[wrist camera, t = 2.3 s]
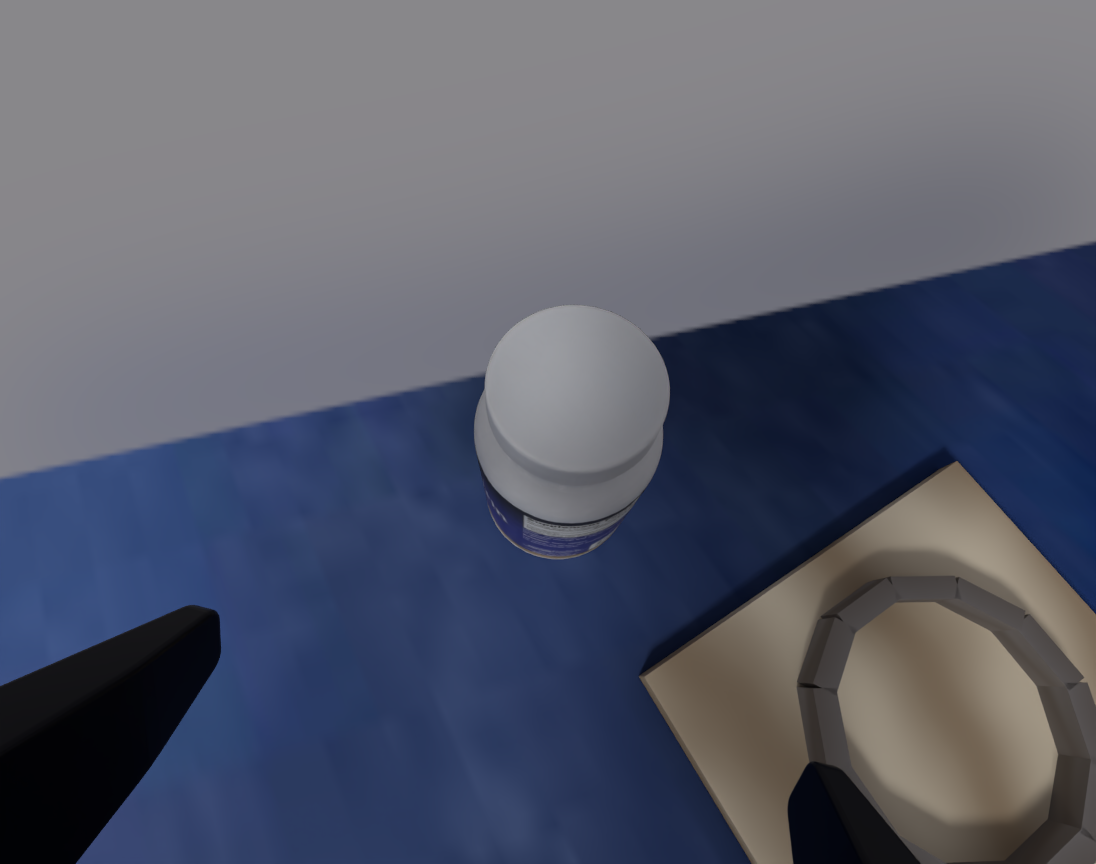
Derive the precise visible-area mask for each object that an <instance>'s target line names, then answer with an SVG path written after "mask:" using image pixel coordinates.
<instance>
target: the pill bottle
mask: <svg viewBox="0 0 1096 864" xmlns="http://www.w3.org/2000/svg"><path fill="white" fill-rule="evenodd" d="M669 400H670V384H669V377H668V373H667V369H666V366H665V364H664V361H663V359H662V357H661V355H660V353H659V351H658V350H657V348H656V347H655V345H654V344H653V342H652V341H651V340H650V339H649V338H648V337H647V336H646V334H644V332H643V331H642V330H641V329H640V328H638V327H637V326H636V325H634V324H633V323H631V322H630V321H628V320H626V319H625V318H623V317H621V316H620V315H617V314H615V313H613V312H611V311H607V310H604V309H601V308H597V307H591V306H585V305H563V306H557V307H551V308H547V309H544V310H541V311H538V312H536V313H533V314H532V315H530V316H528V317H526V318H525V319H523V320H521V321H520V322H519V323H517V324H516V325H514V326H513V327H512V328H511V329H510V330H509V331H508V332H507V333H506V334H505V335H504V336H503V337H502V339H501V340H500V342H499V343H498V344H497V346H496V347H495V349H494V351H493V353H492V355H491V358H490V360H489V363H488V367H487V370H486V376H485V390H484V391H483V393H482V395H481V398H480V400H479V403H478V406H477V410H476V415H475V423H474V440H475V449H476V453H477V458H478V462H479V466H480V471H481V475H482V480H483V484H484V489H485V494H486V499H487V503H488V507H489V510H490V513H491V516H492V518H493V520H494V522H495V524H496V526H497V527H498V529H499V530H500V531H501V533H502V534H503V535H504V536H505V537H506V538H507V539H508V540H509V541H510V542H511V543H513V544H514V545H515V546H517V547H518V548H520V549H522V550H523V551H525V552H527V553H530V554H532V555H535V556H539V557H543V558H548V559H567V558H572V557H577V556H580V555H583V554H585V553H588V552H590V551H592V550H594V549H595V548H597V547H598V546H600V545H601V544H602V543H603V542H605V541H606V540H607V539H608V538H609V537H610V536H611V535H612V534H613V532H614V531H615V530H616V529H617V527H618V526H619V525H620V523H621V522H622V521H623V519H624V518H625V516H626V515H627V514H628V512H629V511H630V509H631V508H632V506H633V505H634V504H635V502H636V501H637V499H638V498H639V497H640V495H641V494H642V493H643V492H644V490H645V488H646V487H647V485H648V484H649V482H650V480H651V479H652V477H653V475H654V473H655V471H656V468H657V466H658V463H659V460H660V456H661V452H662V446H663V423H664V420H665V418H666V415H667V411H668V407H669Z"/></svg>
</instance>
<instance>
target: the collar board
mask: <svg viewBox="0 0 1096 864" xmlns="http://www.w3.org/2000/svg"><path fill="white" fill-rule="evenodd" d="M639 678H640V679H641V681H642V683H643V684H644V686H645V687H646V689H647V691H648V692H649V694H650V696H651V697H652V699H653V701H654V702H655V704H656V706H657V707H658V709H659V711H660V712H661V714H662V716H663V717H664V719H665V721H666V722H667V724H668V726H669V727H670V729H671V731H672V732H673V734H674V736H675V737H676V739H677V741H678V742H679V744H680V745H681V747H682V749H683V750H684V752H685V754H686V755H687V757H688V759H689V760H690V762H691V764H692V765H693V767H694V769H695V770H696V772H697V774H698V775H699V777H700V779H701V780H702V782H703V784H704V785H705V787H706V789H707V790H708V792H709V794H710V795H711V797H712V798H713V800H714V802H715V803H716V805H717V807H718V808H719V810H720V812H721V813H722V815H723V817H724V818H725V820H726V822H727V823H728V825H729V827H730V828H731V830H732V832H733V833H734V835H735V837H736V838H737V840H738V842H739V843H740V845H741V847H742V848H743V850H744V852H745V853H746V855H747V856H748V858H749V860H750V861H751V863H752V864H793V858H792V849H791V841H790V832H789V823H788V813H787V807H788V800H789V797H790V794H791V792H792V790H793V789H794V787H795V785H796V783H797V781H798V779H799V778H800V776H801V774H802V772H803V770H804V769H805V767H806V765H807V764H808V763H810V762H811V761H817V762H821V763H825V764H829V765H833V766H837V767H839V768H840V769H842V770H843V771H844V772H845V773H846V774H847V775H848V776H849V778H850V779H851V780H852V781H853V782H854V784H855V785H856V786H857V787H858V788H859V790H860V791H861V792H862V793H863V794H864V796H865V797H866V798H867V799H868V800H869V802H870V803H871V804H872V805H873V806H874V808H875V809H876V810H877V811H878V812H879V814H880V815H881V816H882V817H883V818H884V820H885V821H886V822H887V823H888V824H889V826H890V827H891V828H892V829H893V830H894V832H895V833H896V834H897V835H898V836H899V838H900V839H901V840H902V841H903V842H904V844H905V845H906V846H907V847H908V848H909V850H910V851H911V852H912V853H913V854H914V856H915V857H916V858H917V859H918V860H919V862H920V863H921V864H1096V614H1095V613H1094V612H1093V611H1092V610H1091V609H1090V608H1089V606H1088V605H1087V604H1086V603H1085V602H1084V601H1083V600H1082V599H1081V598H1080V596H1079V595H1078V594H1077V593H1076V592H1075V591H1074V590H1073V589H1072V588H1071V586H1070V585H1069V584H1068V583H1067V582H1066V581H1065V580H1064V579H1063V578H1062V577H1061V575H1060V574H1059V573H1058V572H1057V571H1056V570H1055V569H1054V568H1053V567H1052V565H1051V564H1050V563H1049V562H1048V561H1047V560H1046V559H1045V558H1044V557H1043V555H1042V554H1041V553H1040V552H1039V551H1038V550H1037V549H1036V548H1035V547H1034V546H1033V544H1032V543H1031V542H1030V541H1029V540H1028V539H1027V538H1026V537H1025V536H1024V534H1023V533H1022V532H1021V531H1020V530H1019V529H1018V528H1017V527H1016V526H1015V525H1014V523H1013V522H1012V521H1011V520H1010V519H1009V518H1008V517H1007V516H1006V515H1005V513H1004V512H1003V511H1002V510H1001V509H1000V508H999V507H998V506H997V505H996V503H995V502H994V501H993V500H992V499H991V498H990V497H989V496H988V495H987V494H986V492H985V491H984V490H983V489H982V488H981V487H980V486H979V485H978V484H977V482H976V481H975V480H974V479H973V478H972V477H971V476H970V475H969V474H968V472H967V471H966V470H965V469H964V468H963V467H962V466H961V465H960V464H959V463H958V461H956V462H954V463H951V464H949V465H947V466H945V467H943V468H941V469H939V470H938V471H936V472H935V473H933V474H932V475H930V476H929V477H927V478H926V479H925V480H923V481H922V482H920V483H919V484H917V485H916V486H914V487H913V488H911V489H910V490H909V491H907V492H906V493H904V494H903V495H901V496H900V497H898V498H897V499H895V500H894V501H893V502H891V503H890V504H888V505H887V506H885V507H884V508H882V509H881V510H879V511H878V512H877V513H875V514H874V515H872V516H871V517H869V518H868V519H866V520H865V521H864V522H862V523H861V524H859V525H858V526H856V527H855V528H853V529H852V530H850V531H849V532H848V533H846V534H845V535H843V536H842V537H840V538H839V539H837V540H836V541H834V542H833V543H832V544H830V545H829V546H827V547H826V548H824V549H823V550H821V551H820V552H818V553H817V554H816V555H814V556H813V557H811V558H810V559H808V560H807V561H805V562H804V563H802V564H801V565H800V566H798V567H797V568H795V569H794V570H792V571H791V572H789V573H788V574H786V575H785V576H784V577H782V578H781V579H779V580H778V581H776V582H775V583H773V584H772V585H770V586H769V587H768V588H766V589H765V590H763V591H762V592H760V593H759V594H757V595H756V596H754V597H753V598H752V599H750V600H749V601H747V602H746V603H744V604H743V605H741V606H740V607H739V608H737V609H736V610H734V611H733V612H731V613H730V614H728V615H727V616H725V617H724V618H723V619H721V620H720V621H718V622H717V623H715V624H714V625H712V626H711V627H709V628H708V629H707V630H705V631H704V632H702V633H701V634H699V635H698V636H696V637H695V638H693V639H692V640H691V641H689V642H688V643H686V644H685V645H683V646H682V647H680V648H679V649H677V650H676V651H675V652H673V653H672V654H670V655H669V656H667V657H666V658H664V659H663V660H661V661H660V662H659V663H657V664H656V665H654V666H653V667H651V668H650V669H648V670H647V671H645V672H644V673H643V674H641V675H640V676H639Z"/></svg>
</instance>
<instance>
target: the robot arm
mask: <svg viewBox="0 0 1096 864" xmlns="http://www.w3.org/2000/svg"><path fill="white" fill-rule="evenodd" d="M220 654H221V638H220V618H219V615H218V613H217V612H216V611H215V610H212V609H208V608H204V607H200V606H196V605H189V606H185V607H182V608H180V609H178V610H175V611H173V612H171V613H168V614H166V615H164V616H162V617H159V618H157V619H155V620H152V621H150V622H148V623H145V624H143V625H141V626H138V627H136V628H134V629H131V630H129V631H127V632H125V633H122V634H120V635H118V636H115V637H113V638H111V639H108V640H106V641H104V642H101V643H99V644H97V645H94V646H92V647H90V648H88V649H85V650H83V651H81V652H78V653H76V654H74V655H71V656H69V657H67V658H64V659H62V660H60V661H57V662H55V663H53V664H50V665H48V666H46V667H44V668H41V669H39V670H37V671H34V672H32V673H30V674H27V675H25V676H23V677H20V678H18V679H16V680H13V681H11V682H9V683H7V684H4V685H2V686H0V864H76V863H77V861H78V860H79V859H80V857H81V856H82V855H83V854H84V852H85V851H86V850H87V848H88V847H89V846H90V845H91V843H92V842H93V841H94V839H95V838H96V837H97V836H98V834H99V833H100V832H101V830H102V829H103V828H104V827H105V825H106V824H107V823H108V822H109V820H110V819H111V818H112V816H113V815H114V814H115V813H116V811H117V810H118V809H119V807H120V806H121V805H122V804H123V802H124V801H125V800H126V798H127V797H128V796H129V795H130V793H131V792H132V791H133V789H134V788H135V787H136V786H137V784H138V783H139V782H140V780H141V779H142V778H143V776H144V775H145V774H146V772H147V771H148V770H149V768H150V767H151V766H152V764H153V763H154V761H155V760H156V758H157V757H158V755H159V754H160V752H161V751H162V749H163V748H164V746H165V745H166V743H167V742H168V740H169V739H170V737H171V735H172V734H173V732H174V731H175V729H176V728H177V726H178V725H179V723H180V721H181V720H182V718H183V717H184V715H185V714H186V712H187V711H188V709H189V708H190V706H191V704H192V703H193V701H194V700H195V698H196V697H197V695H198V694H199V692H200V690H201V689H202V687H203V686H204V684H205V683H206V681H207V680H208V678H209V677H210V675H211V673H212V672H213V670H214V669H215V667H216V665H217V663H218V661H219V658H220ZM787 813H788V823H789V832H790V841H791V849H792V858H793V864H921V863H920V862H919V860H918V859H917V858H916V857H915V856H914V854H913V853H912V852H911V851H910V850H909V848H908V847H907V846H906V845H905V844H904V842H903V841H902V840H901V839H900V838H899V836H898V835H897V834H896V833H895V832H894V830H893V829H892V828H891V827H890V826H889V824H888V823H887V822H886V821H885V820H884V818H883V817H882V816H881V815H880V814H879V812H878V811H877V810H876V809H875V808H874V806H873V805H872V804H871V803H870V802H869V800H868V799H867V798H866V797H865V796H864V794H863V793H862V792H861V791H860V790H859V788H858V787H857V786H856V785H855V784H854V782H853V781H852V780H851V779H850V778H849V776H848V775H847V774H846V773H845V772H844V771H843V770H842V769H840V768H839V767H837V766H833V765H829V764H825V763H821V762H817V761H811V762H810V763H808V764H807V765H806V767H805V769H804V770H803V772H802V774H801V776H800V778H799V779H798V781H797V783H796V785H795V787H794V789H793V790H792V792H791V794H790V797H789V800H788V807H787Z"/></svg>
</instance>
